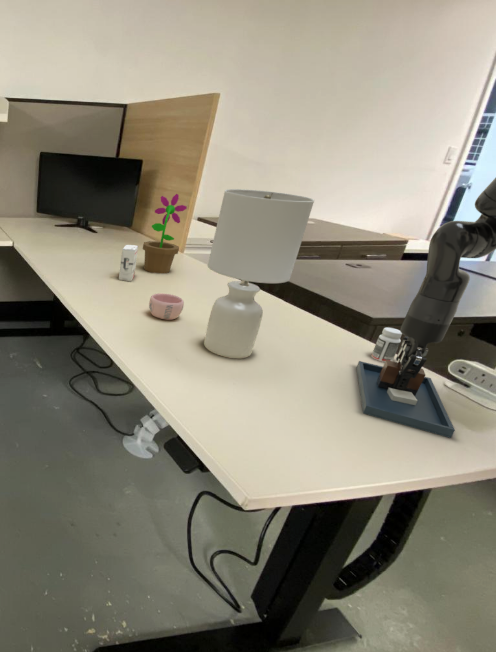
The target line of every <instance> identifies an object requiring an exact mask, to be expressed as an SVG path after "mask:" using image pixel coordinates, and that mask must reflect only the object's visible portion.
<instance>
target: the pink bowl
mask: <svg viewBox="0 0 496 652" xmlns="http://www.w3.org/2000/svg"><path fill="white" fill-rule="evenodd" d="M184 304H185V302H184V299H183V298H182V297H180V296H177V295H176V294H175V295H174V294H171V293H160V292H158V293H154V294H152V295H151V296H150V297H149V301H148V308H149V312H150V314H151V315H152V316H153V317H155V318H157V319H162V320H174V319H175V320H176V319H177V318H178V317H179V316H180V315H181V314H182V312H183V310H184V307H185V306H184Z"/></svg>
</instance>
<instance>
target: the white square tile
mask: <svg viewBox="0 0 496 652" xmlns="http://www.w3.org/2000/svg"><path fill="white" fill-rule="evenodd" d="M387 393H388V395H389V396H390V398H391V400H393V401H397V402H402V403H407V404H411V405H416V403H417V399H416V398H415V396H414V395H413V394H412V392H407V391H403V390H398V389H393V388H388V390H387Z"/></svg>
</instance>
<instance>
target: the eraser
mask: <svg viewBox="0 0 496 652" xmlns="http://www.w3.org/2000/svg"><path fill="white" fill-rule="evenodd" d="M383 363H384V364H383V366H382V367H383V368H382V370H381V373H380V375H379V377H378V379H377V383H378V387H382V388H386V389H388V388H393V384H394V382H395V380H396V378H397V375H398V371H399V370H400V367H401V365H402V364H401V363H397V361H394V360H393V361H389V360H386V361H385V362H383ZM407 371H410V372H411V370H410V369H408V370H407ZM424 377H426V372H425V370H424V368H423V367H422V368H421V369H420V371H419V372H418V374H417V375H416V377H415V378H410V380H409V382H408V384H407V386H406V389H405V390H404V391H407V392H412V394H413V395H414V396H415V395H416V393H417V391H418V389H419V387H420V385H421V383H422V381H423V379H424Z"/></svg>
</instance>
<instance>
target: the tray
mask: <svg viewBox="0 0 496 652" xmlns="http://www.w3.org/2000/svg"><path fill="white" fill-rule="evenodd" d="M382 368H383V366H382V365H378V364H373V363H369V362H365V361H361V360H358V362H357V364H356V368H355V369H356V375H357V382H358V388H359V396H360V400H361V401H360V402H361V409H362V414H364V415H368V416H370V417H375V418H377V419H381V420H385V421H389V422H392V423H395V424H398V425H402V426H403V425H404V426H406V427H410V428H413V429H416V430H421V431H425V432H427V433H430V434H434V435H437V436H442V437H445V438H449V439H452V437H453V435H454V433H455V431H456V429H455V427H454V424H453V423H452V421H451V419H450V417H449V414H448V412H447V410H446V408H445V405H444V404H443V401H442V399H441V397H440V395H439V393H438V391H437V389H436V387H435V384H434V382H433V380H432V378H431V377H427V376H425V377H424V379H423V381H422V383H421V385H420V387H419V389H418V391H417V393H416V395H415V398H416V399H417V403H416V405H411V404H407V403H402V402H397V401H393V400H391V398H390V396H389V395H388V393H387V390H388V389H386V388H382V387H378V383H377V379H378V377H379V375H380V373H381V370H382Z"/></svg>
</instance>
